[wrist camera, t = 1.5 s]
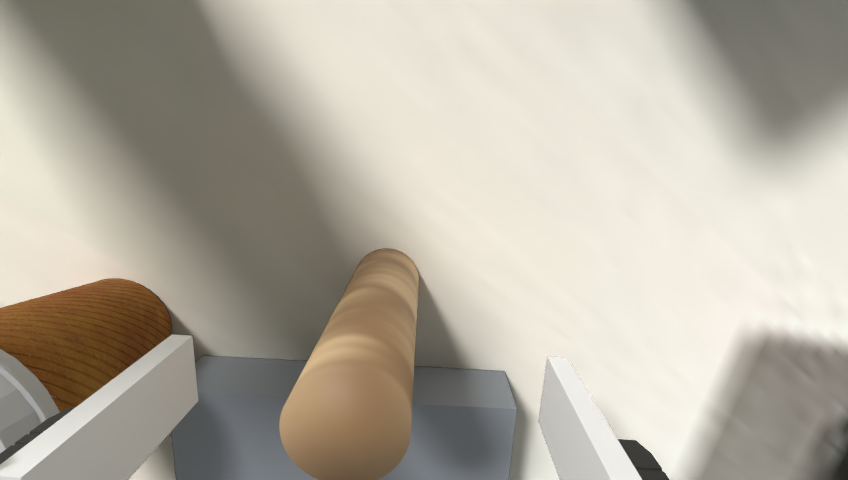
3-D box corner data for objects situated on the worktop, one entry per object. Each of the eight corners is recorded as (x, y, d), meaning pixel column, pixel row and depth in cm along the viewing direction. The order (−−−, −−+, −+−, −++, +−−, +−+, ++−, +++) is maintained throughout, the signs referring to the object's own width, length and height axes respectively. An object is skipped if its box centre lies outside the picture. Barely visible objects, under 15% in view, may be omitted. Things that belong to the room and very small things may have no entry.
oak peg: (355, 307, 27) (281, 482, 13) (355, 246, 26) (277, 369, 12) (417, 310, 27) (407, 488, 13) (420, 250, 26) (413, 376, 12)
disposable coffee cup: (74, 226, 26) (-218, 301, 14) (219, 296, 27) (59, 420, 15) (31, 350, 28) (-255, 505, 16) (168, 410, 29) (-9, 597, 17)
